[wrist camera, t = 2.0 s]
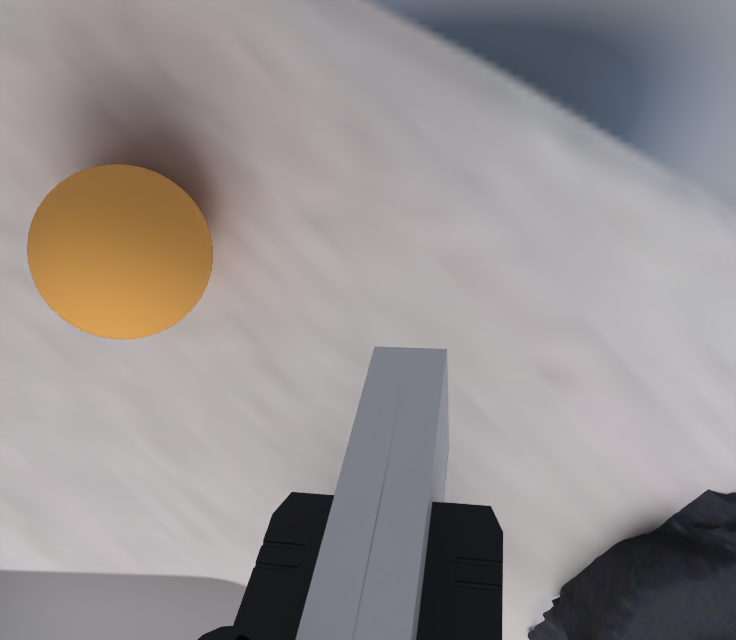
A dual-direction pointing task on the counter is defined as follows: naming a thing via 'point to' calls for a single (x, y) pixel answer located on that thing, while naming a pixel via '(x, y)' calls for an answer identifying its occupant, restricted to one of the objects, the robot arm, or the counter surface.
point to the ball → (120, 251)
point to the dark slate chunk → (657, 583)
